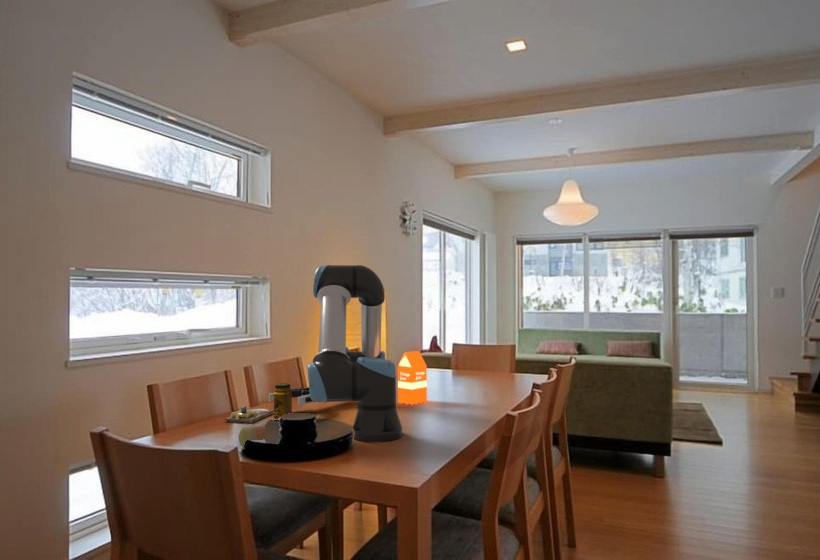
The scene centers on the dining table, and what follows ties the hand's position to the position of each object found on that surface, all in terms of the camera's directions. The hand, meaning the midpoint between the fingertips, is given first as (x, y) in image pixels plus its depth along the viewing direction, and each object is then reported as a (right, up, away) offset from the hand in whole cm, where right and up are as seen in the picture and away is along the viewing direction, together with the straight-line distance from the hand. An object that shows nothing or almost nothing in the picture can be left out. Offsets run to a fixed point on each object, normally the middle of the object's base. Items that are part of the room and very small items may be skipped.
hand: (283, 399), depth 189 cm
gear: (-13, -5, -2) cm, 14 cm away
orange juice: (+45, -7, +27) cm, 53 cm away
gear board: (-12, -7, +2) cm, 14 cm away
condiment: (+1, -7, 0) cm, 7 cm away
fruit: (+1, -5, -38) cm, 38 cm away
